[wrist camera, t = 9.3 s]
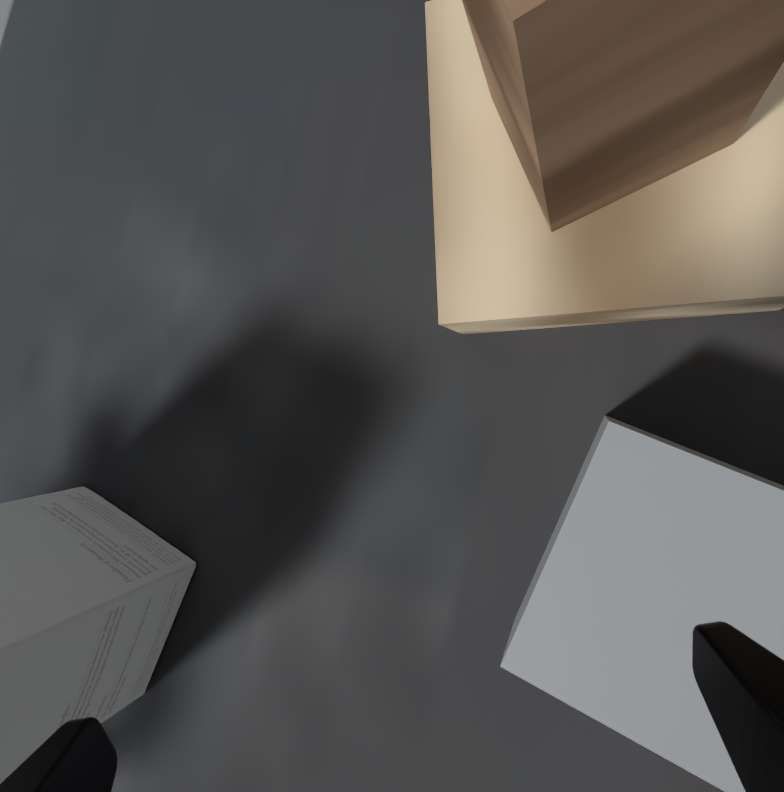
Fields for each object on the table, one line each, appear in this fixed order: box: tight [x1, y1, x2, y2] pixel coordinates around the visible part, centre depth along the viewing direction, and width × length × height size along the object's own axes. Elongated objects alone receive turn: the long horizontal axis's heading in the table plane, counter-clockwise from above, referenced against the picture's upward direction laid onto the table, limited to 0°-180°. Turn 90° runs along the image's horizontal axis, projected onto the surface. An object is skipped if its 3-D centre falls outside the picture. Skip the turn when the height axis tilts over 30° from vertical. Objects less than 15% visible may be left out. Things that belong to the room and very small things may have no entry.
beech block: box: [425, 0, 784, 334], centre depth 18 cm, size 10×10×4 cm
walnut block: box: [462, 0, 784, 232], centre depth 11 cm, size 4×5×10 cm
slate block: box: [500, 415, 784, 792], centre depth 17 cm, size 8×8×4 cm
